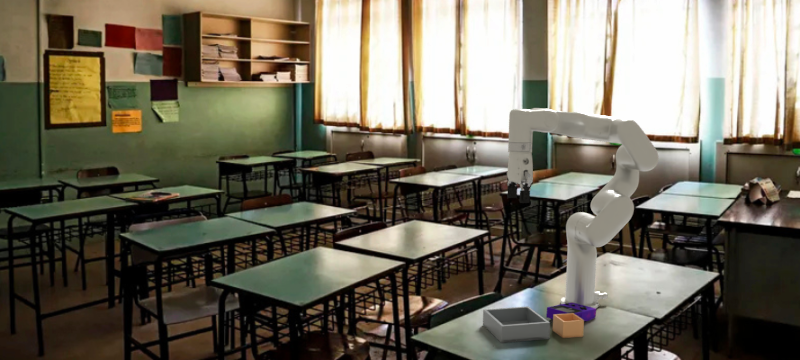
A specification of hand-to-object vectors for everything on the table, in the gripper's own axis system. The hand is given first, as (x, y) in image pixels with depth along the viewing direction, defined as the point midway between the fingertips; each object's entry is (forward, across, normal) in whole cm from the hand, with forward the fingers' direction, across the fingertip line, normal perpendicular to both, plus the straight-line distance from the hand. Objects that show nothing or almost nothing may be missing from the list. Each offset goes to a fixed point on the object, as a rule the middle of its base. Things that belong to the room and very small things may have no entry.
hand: (518, 200), depth 219 cm
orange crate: (+37, -24, -7) cm, 44 cm away
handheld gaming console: (+37, -13, -14) cm, 42 cm away
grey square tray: (+37, -19, +8) cm, 42 cm away
